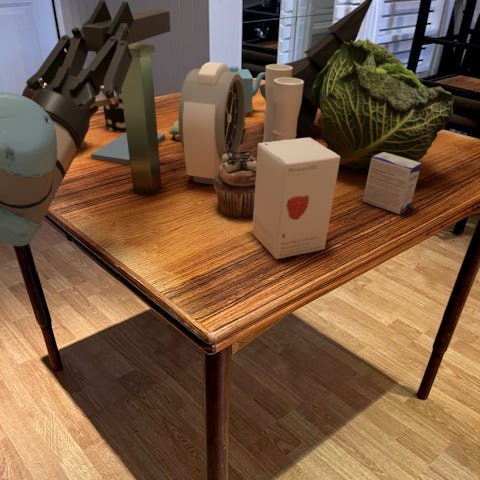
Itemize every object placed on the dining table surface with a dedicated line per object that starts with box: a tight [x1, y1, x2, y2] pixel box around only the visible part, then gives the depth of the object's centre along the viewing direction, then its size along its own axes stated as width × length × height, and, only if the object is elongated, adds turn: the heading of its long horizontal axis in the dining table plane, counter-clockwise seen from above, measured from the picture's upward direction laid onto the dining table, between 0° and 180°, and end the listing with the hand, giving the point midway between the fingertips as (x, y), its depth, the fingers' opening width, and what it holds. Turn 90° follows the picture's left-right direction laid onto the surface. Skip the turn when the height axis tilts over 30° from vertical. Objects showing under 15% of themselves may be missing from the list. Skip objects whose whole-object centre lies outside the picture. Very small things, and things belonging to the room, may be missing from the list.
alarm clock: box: [178, 61, 246, 186], centre depth 90 cm, size 18×8×20 cm, turn 164°
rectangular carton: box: [251, 137, 340, 260], centre depth 71 cm, size 9×9×15 cm
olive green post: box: [121, 42, 163, 196], centre depth 82 cm, size 5×5×24 cm
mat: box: [90, 132, 166, 165], centre depth 107 cm, size 18×9×1 cm, turn 162°
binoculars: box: [262, 63, 304, 143], centre depth 95 cm, size 17×5×18 cm, turn 5°
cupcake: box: [213, 150, 257, 219], centre depth 82 cm, size 10×10×10 cm
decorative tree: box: [259, 0, 373, 139], centre depth 110 cm, size 15×15×35 cm
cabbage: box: [310, 37, 455, 170], centre depth 96 cm, size 25×24×23 cm
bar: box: [82, 9, 171, 53], centre depth 73 cm, size 22×3×3 cm, turn 162°
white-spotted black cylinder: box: [94, 52, 126, 133], centre depth 112 cm, size 8×8×20 cm
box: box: [362, 152, 422, 215], centre depth 85 cm, size 8×4×9 cm, turn 47°
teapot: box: [228, 65, 266, 117], centre depth 128 cm, size 16×18×11 cm
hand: (117, 10), depth 68 cm, fingers closed on bar, 3 cm apart
